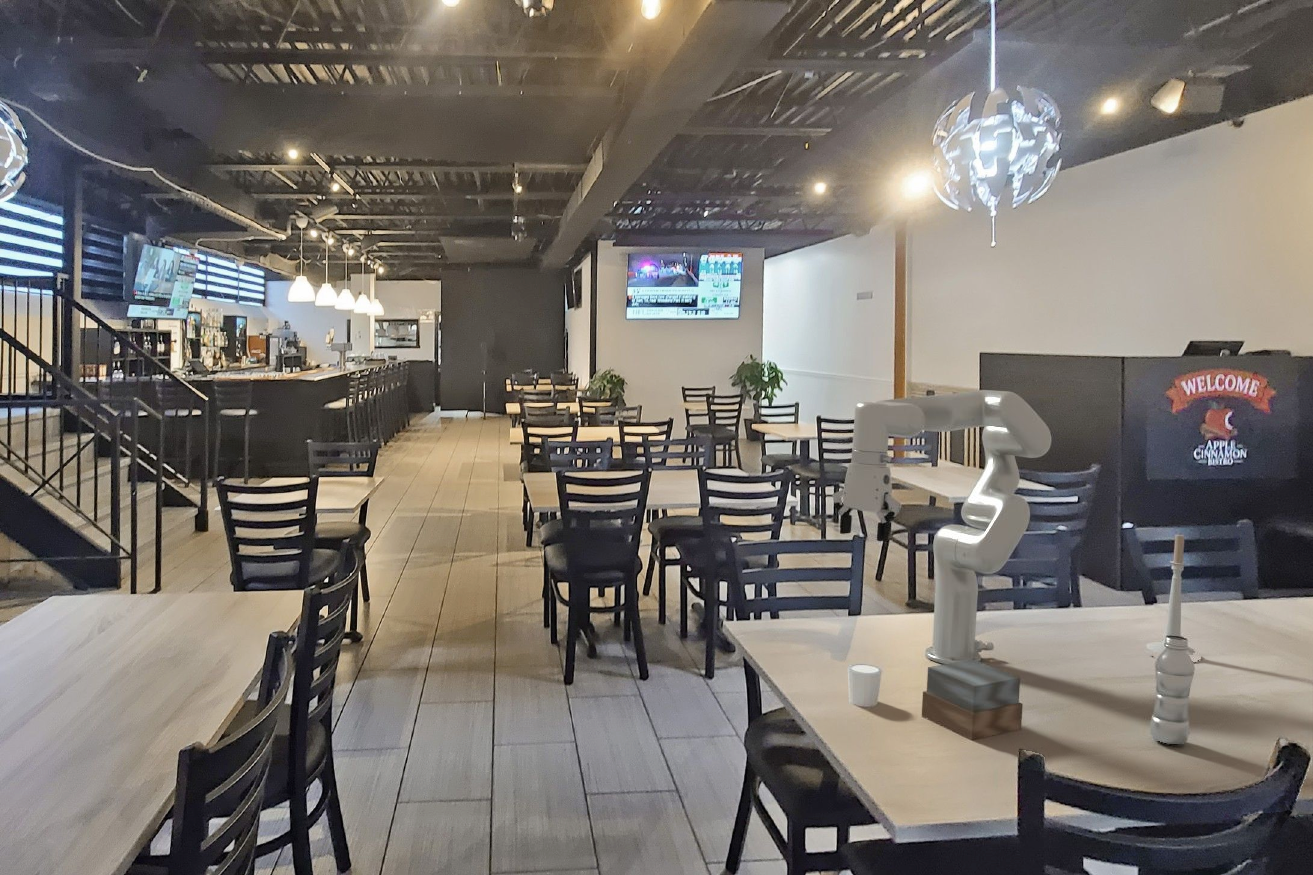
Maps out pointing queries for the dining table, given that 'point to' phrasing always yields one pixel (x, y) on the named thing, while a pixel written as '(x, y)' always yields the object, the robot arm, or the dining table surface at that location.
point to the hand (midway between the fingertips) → (863, 536)
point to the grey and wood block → (972, 699)
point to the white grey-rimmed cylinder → (864, 684)
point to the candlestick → (1174, 599)
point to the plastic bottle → (1172, 692)
